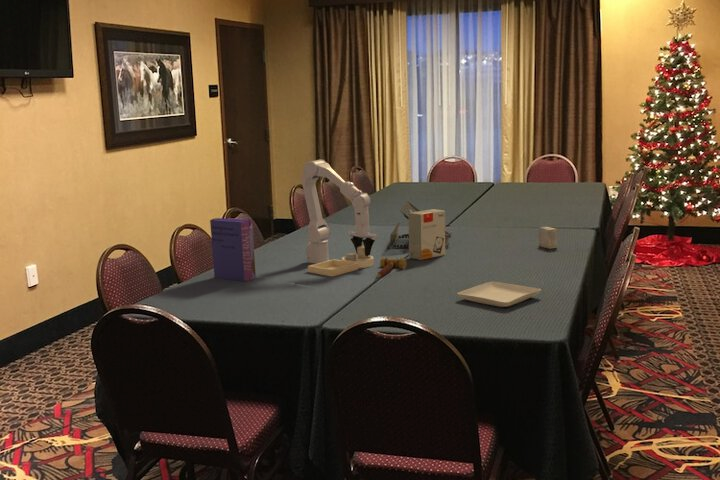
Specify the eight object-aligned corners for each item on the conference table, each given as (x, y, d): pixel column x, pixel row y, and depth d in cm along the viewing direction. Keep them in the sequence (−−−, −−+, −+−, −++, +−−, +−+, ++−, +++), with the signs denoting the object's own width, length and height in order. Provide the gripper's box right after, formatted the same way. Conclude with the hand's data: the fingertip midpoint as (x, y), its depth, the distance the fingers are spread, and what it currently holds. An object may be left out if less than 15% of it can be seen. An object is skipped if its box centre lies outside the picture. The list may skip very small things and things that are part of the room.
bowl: (335, 267, 329) (335, 258, 328) (357, 261, 338) (357, 253, 337) (358, 271, 320) (358, 262, 319) (379, 265, 329) (379, 257, 328)
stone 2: (355, 257, 328) (354, 247, 327) (363, 255, 331) (362, 245, 330) (362, 259, 325) (362, 248, 324) (370, 257, 328) (369, 246, 327)
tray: (308, 273, 319) (307, 265, 319) (334, 266, 330) (334, 259, 330) (332, 277, 310) (331, 270, 309) (358, 270, 321) (358, 263, 320)
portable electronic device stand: (448, 249, 357) (448, 210, 354) (388, 250, 362) (386, 211, 358) (451, 236, 389) (451, 199, 386) (395, 236, 394) (394, 200, 390)
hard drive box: (420, 260, 335) (419, 214, 331) (408, 258, 340) (407, 212, 337) (446, 254, 344) (445, 209, 341) (433, 252, 350) (432, 208, 346)
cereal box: (255, 279, 313) (251, 219, 309) (248, 281, 309) (244, 221, 305) (222, 275, 322) (217, 217, 318) (214, 277, 318) (210, 219, 314)
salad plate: (455, 301, 270) (455, 292, 269) (492, 289, 285) (492, 280, 284) (506, 312, 255) (506, 302, 254) (542, 298, 270) (542, 288, 269)
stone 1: (343, 265, 329) (343, 254, 328) (351, 263, 332) (350, 252, 331) (351, 266, 326) (351, 256, 325) (358, 264, 329) (358, 254, 328)
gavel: (389, 271, 304) (365, 270, 307) (390, 283, 305) (366, 281, 308) (406, 257, 322) (383, 256, 326) (407, 267, 324) (384, 266, 327)
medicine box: (557, 248, 349) (557, 229, 347) (548, 249, 347) (549, 230, 346) (546, 245, 356) (547, 226, 355) (538, 246, 355) (538, 227, 353)
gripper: (342, 222, 327) (344, 254, 330) (368, 225, 317) (369, 258, 320) (354, 220, 332) (355, 251, 335) (380, 223, 322) (381, 255, 325)
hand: (363, 254), depth 328 cm, fingers closed on stone 2, 4 cm apart
